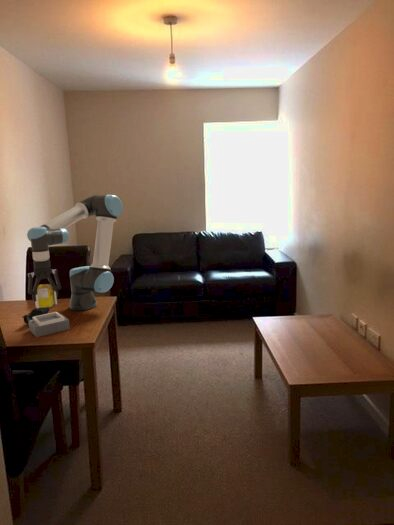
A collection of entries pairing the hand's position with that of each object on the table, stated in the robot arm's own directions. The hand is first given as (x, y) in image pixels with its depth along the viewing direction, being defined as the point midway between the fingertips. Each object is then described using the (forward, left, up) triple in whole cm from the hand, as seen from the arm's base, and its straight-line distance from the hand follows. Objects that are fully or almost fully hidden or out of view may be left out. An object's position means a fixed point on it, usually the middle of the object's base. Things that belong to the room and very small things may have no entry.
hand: (46, 305), depth 206 cm
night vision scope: (+1, -17, -13) cm, 21 cm away
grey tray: (0, 0, -13) cm, 13 cm away
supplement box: (0, 0, -1) cm, 1 cm away
